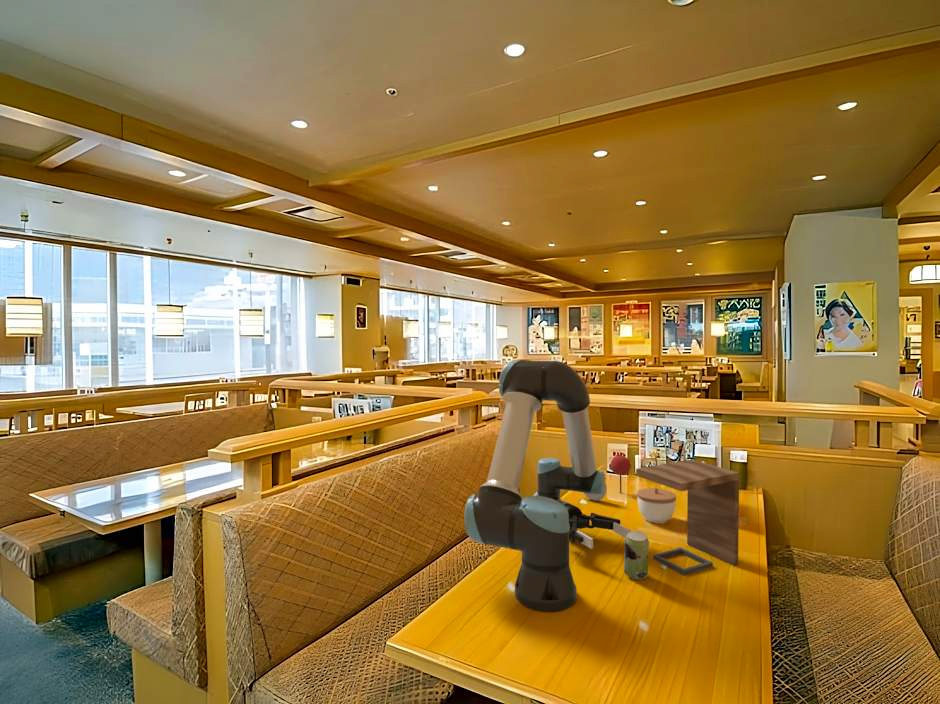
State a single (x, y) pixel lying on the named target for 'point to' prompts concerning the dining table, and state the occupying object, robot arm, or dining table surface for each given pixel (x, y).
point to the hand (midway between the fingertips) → (611, 539)
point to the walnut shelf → (705, 504)
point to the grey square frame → (689, 570)
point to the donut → (596, 495)
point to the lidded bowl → (656, 504)
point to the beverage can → (636, 555)
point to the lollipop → (620, 466)
